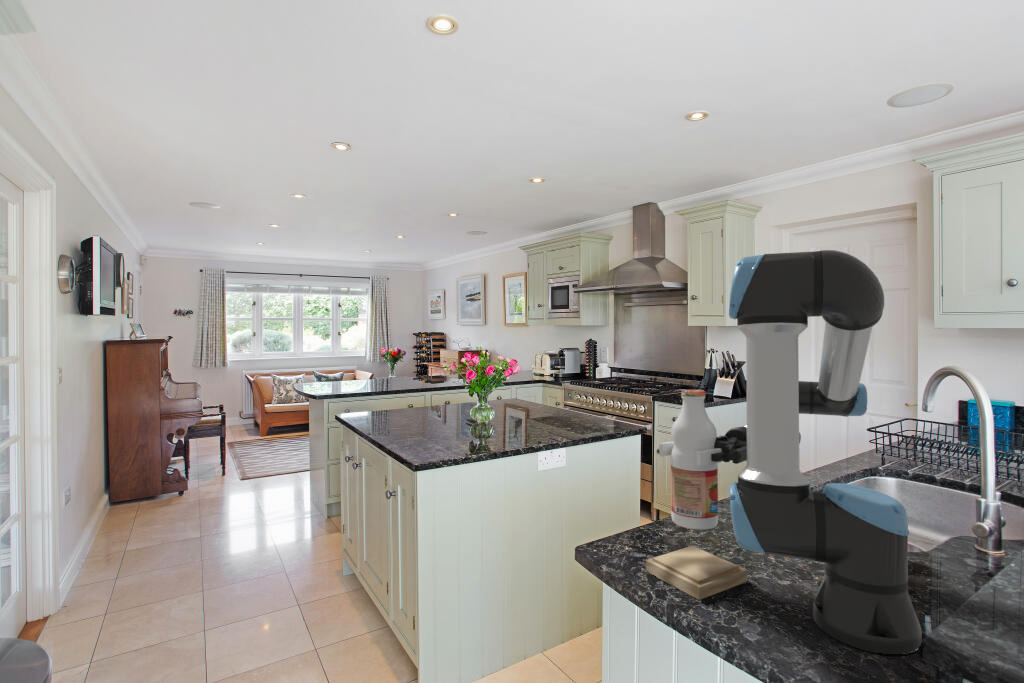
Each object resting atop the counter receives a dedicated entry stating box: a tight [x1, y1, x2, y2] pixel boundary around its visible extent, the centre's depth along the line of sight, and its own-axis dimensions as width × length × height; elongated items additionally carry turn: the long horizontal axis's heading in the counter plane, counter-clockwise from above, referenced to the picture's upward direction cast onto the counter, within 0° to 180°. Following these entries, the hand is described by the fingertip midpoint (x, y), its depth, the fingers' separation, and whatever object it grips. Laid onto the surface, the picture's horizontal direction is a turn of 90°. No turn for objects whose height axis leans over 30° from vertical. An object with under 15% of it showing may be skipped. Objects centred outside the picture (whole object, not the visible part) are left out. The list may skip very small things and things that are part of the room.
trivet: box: [645, 545, 748, 601], centre depth 108 cm, size 14×14×3 cm
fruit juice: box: [670, 389, 719, 530], centre depth 111 cm, size 9×9×28 cm
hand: (678, 454), depth 109 cm, fingers closed on fruit juice, 9 cm apart
